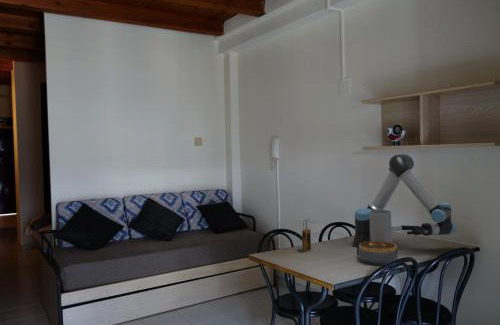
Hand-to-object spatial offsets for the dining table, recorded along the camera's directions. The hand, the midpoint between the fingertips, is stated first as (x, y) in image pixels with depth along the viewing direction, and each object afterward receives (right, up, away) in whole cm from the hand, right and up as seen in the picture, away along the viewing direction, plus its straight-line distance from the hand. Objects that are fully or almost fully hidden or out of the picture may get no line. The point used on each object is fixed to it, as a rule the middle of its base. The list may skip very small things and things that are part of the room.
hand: (396, 230), depth 266 cm
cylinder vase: (-9, -13, 0) cm, 16 cm away
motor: (-17, -14, -18) cm, 28 cm away
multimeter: (-56, -14, +12) cm, 59 cm away
